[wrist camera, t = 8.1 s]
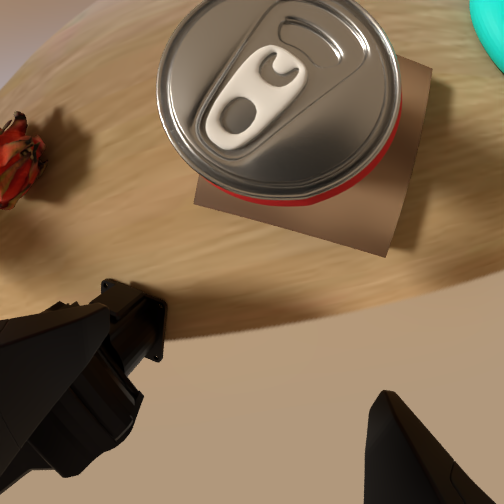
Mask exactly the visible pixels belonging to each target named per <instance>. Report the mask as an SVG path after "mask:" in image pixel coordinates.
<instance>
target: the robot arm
mask: <svg viewBox="0 0 504 504" xmlns="http://www.w3.org/2000/svg"><path fill="white" fill-rule="evenodd" d="M106 284H107V285H108V286H107V285H106ZM159 304H160V305H161V306H162V308H161V307H160V306H159ZM166 316H167V303H166V302H165V301H164V300H162V299H159V298H156V297H153V296H151V295H148V294H145V293H143V292H142V291H140V290H137V289H134V288H132V287H129V286H127V285H124V284H122V283H117V282H114V281H112V280H109V279H105V280H103V281H102V282H101V295H99V296H98V297H97V298H95V299H94V300H92V301H91V302H90V303H89V304H88V305H83V306H79V304H78V302H77V301H76V302H74V303H73V304H71V305H69V303H68V304H64V303H62V302H60V301H59V302H57V303H56V304H54V305H53V306H51V307H50V308H48V309H46V310H45V311H43V312H41V313H39V314H34V315H28V316H23V317H17V318H11V319H5V320H0V494H2V493H3V492H4V491H5V490H7V489H8V488H9V487H11V486H12V485H13V484H14V483H16V482H17V481H18V480H19V479H20V478H22V477H23V476H24V475H26V474H27V473H29V472H30V471H32V470H55V471H56V472H58V473H59V474H60V475H61V476H62V477H63V478H68V477H71V476H76V475H79V474H80V473H81V472H82V471H83V470H84V469H85V468H86V467H87V466H88V465H89V464H90V463H91V462H92V461H93V460H94V459H96V458H97V457H98V456H99V455H101V454H102V453H103V452H106V451H109V450H111V449H113V448H115V447H116V446H118V445H119V444H120V443H121V442H123V441H124V440H125V439H126V437H127V436H128V435H129V434H130V432H131V430H132V428H133V425H134V423H135V420H136V417H137V414H138V411H139V409H140V406H141V403H142V401H143V398H144V395H143V394H142V393H141V392H140V391H138V390H137V389H136V387H135V386H134V385H133V384H132V382H131V381H130V380H129V379H128V375H129V374H130V373H131V372H132V371H133V370H134V368H135V367H136V366H137V365H138V364H139V363H140V361H141V360H142V359H143V358H144V357H145V358H148V359H150V360H152V361H155V362H160V361H161V360H162V359H163V348H164V337H165V326H166ZM156 356H157V357H156ZM364 504H496V503H495V502H494V501H493V500H492V499H491V498H490V497H489V496H488V495H486V494H485V492H483V491H482V490H481V489H480V488H479V487H478V486H477V485H476V484H475V483H474V482H473V481H472V480H471V479H470V478H469V476H468V475H467V474H466V473H465V472H464V471H463V470H462V469H461V467H460V466H459V465H458V464H457V463H456V462H455V461H454V459H453V458H452V457H451V456H450V455H449V453H448V452H447V451H446V450H445V449H444V448H443V447H442V445H441V444H440V443H439V442H438V441H437V440H436V438H435V437H434V436H433V435H432V434H431V433H430V431H429V430H428V429H427V428H426V427H425V426H424V425H423V423H422V422H421V421H420V420H419V419H418V418H417V417H416V415H414V413H413V412H412V411H411V410H410V409H409V407H408V406H407V405H406V404H405V403H404V402H403V401H402V399H401V398H400V397H399V396H398V395H397V394H396V393H395V392H393V391H387V390H383V391H381V393H380V394H379V396H378V397H377V399H376V400H375V402H374V403H373V405H372V407H371V409H370V411H369V419H368V429H367V438H366V448H365V479H364Z"/></svg>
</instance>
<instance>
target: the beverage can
mask: <svg viewBox="0 0 504 504" xmlns="http://www.w3.org/2000/svg"><path fill="white" fill-rule="evenodd" d="M156 97H157V106H158V111H159V115H160V119H161V122H162V125H163V128H164V130H165V132H166V134H167V136H168V138H169V140H170V142H171V144H172V145H173V147H174V148H175V150H176V151H177V152H178V154H179V155H180V156H181V157H182V159H183V160H184V161H185V162H186V163H187V164H188V165H189V166H190V167H191V168H192V169H193V170H195V171H196V172H197V173H198V174H199V175H201V176H202V177H203V178H204V179H205V180H207V181H208V182H209V183H211V184H212V185H214V186H215V187H217V188H218V189H220V190H222V191H223V192H225V193H227V194H230V195H232V196H234V197H237V198H239V199H242V200H245V201H248V202H252V203H256V204H261V205H268V206H283V207H294V206H309V205H313V204H316V203H318V202H321V201H324V200H326V199H329V198H331V197H334V196H336V195H338V194H340V193H342V192H344V191H346V190H348V189H349V188H351V187H353V186H354V185H355V184H357V183H358V182H360V181H361V180H362V179H363V178H364V177H366V176H367V175H368V174H369V173H370V172H371V171H372V170H373V169H374V168H375V167H376V166H377V164H378V163H379V162H380V161H381V159H382V158H383V157H384V155H385V154H386V152H387V150H388V149H389V147H390V145H391V143H392V141H393V139H394V137H395V134H396V131H397V129H398V125H399V121H400V116H401V110H402V86H401V74H400V69H399V64H398V61H397V57H396V54H395V52H394V49H393V47H392V45H391V43H390V41H389V39H388V37H387V35H386V34H385V32H384V30H383V29H382V28H381V26H380V25H379V24H378V22H377V21H376V20H375V19H374V18H373V17H372V15H370V14H369V13H368V12H367V11H366V10H365V9H364V8H363V7H362V6H361V5H359V4H358V3H357V2H356V1H354V0H204V1H203V2H201V3H200V4H199V5H197V6H196V7H195V8H194V9H193V10H192V11H191V12H190V13H189V14H188V15H187V16H186V17H185V18H184V19H183V20H182V21H181V23H180V24H179V25H178V26H177V28H176V29H175V31H174V32H173V34H172V35H171V37H170V39H169V41H168V43H167V45H166V47H165V49H164V52H163V54H162V57H161V60H160V64H159V68H158V74H157V82H156Z"/></svg>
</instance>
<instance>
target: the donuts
mask: <svg viewBox="0 0 504 504" xmlns="http://www.w3.org/2000/svg"><path fill="white" fill-rule="evenodd" d="M469 5H470V15H471V19H472V23H473V26H474V29H475V31H476V34H477V36H478V38H479V40H480V42H481V44H482V45H483V47H484V49H485V50H486V52H487V53H488V55H489V56H490V58H491V59H492V61H493V62H494V63H495V64H496V66H497V67H498V68H499V69H500V70H501V71H502V72H503V73H504V0H470V4H469Z"/></svg>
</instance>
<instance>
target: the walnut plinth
mask: <svg viewBox="0 0 504 504" xmlns="http://www.w3.org/2000/svg"><path fill="white" fill-rule="evenodd" d="M396 57H397V61H398V64H399V69H400V74H401V86H402V110H401V116H400V121H399V125H398V129H397V131H396V134H395V137H394V139H393V141H392V143H391V145H390V147H389V149H388V150H387V152H386V154H385V155H384V157H383V158H382V159H381V161H380V162H379V163H378V164H377V166H376V167H375V168H374V169H373V170H372V171H371V172H370V173H369V174H368V175H367V176H366V177H364V178H363V179H362V180H361V181H360V182H358V183H357V184H355V185H354V186H353V187H351V188H349V189H348V190H346V191H344V192H342V193H340V194H338V195H336V196H334V197H331V198H329V199H326V200H324V201H321V202H318V203H316V204H313V205H309V206H294V207H283V206H268V205H261V204H256V203H252V202H248V201H245V200H242V199H239V198H237V197H234V196H232V195H230V194H227V193H225V192H223V191H222V190H220V189H218V188H217V187H215V186H214V185H212V184H211V183H209V182H208V181H207V180H205V179H204V178H203V177H202V176H201V175H199V178H198V183H197V188H196V193H195V199H194V204H195V205H199V206H203V207H207V208H211V209H214V210H218V211H222V212H226V213H230V214H234V215H237V216H241V217H245V218H249V219H252V220H256V221H260V222H263V223H267V224H271V225H274V226H278V227H281V228H285V229H289V230H292V231H296V232H299V233H303V234H306V235H310V236H313V237H317V238H320V239H324V240H327V241H331V242H334V243H337V244H341V245H344V246H348V247H351V248H354V249H358V250H361V251H364V252H368V253H371V254H374V255H378V256H381V257H384V258H386V255H387V252H388V249H389V246H390V243H391V240H392V237H393V234H394V231H395V228H396V225H397V222H398V219H399V216H400V213H401V209H402V206H403V203H404V199H405V196H406V192H407V189H408V185H409V181H410V178H411V174H412V170H413V166H414V162H415V158H416V154H417V150H418V145H419V141H420V137H421V132H422V127H423V122H424V117H425V112H426V107H427V101H428V95H429V89H430V83H431V76H432V68H429V67H427V66H424V65H422V64H420V63H417V62H415V61H412V60H409V59H407V58H404V57H401V56H399V55H396Z"/></svg>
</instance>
